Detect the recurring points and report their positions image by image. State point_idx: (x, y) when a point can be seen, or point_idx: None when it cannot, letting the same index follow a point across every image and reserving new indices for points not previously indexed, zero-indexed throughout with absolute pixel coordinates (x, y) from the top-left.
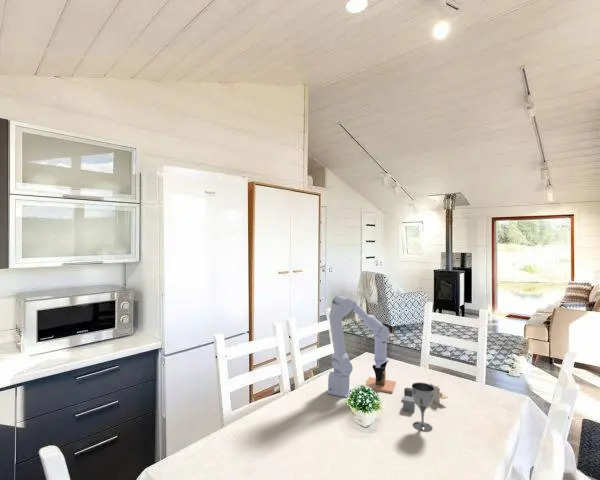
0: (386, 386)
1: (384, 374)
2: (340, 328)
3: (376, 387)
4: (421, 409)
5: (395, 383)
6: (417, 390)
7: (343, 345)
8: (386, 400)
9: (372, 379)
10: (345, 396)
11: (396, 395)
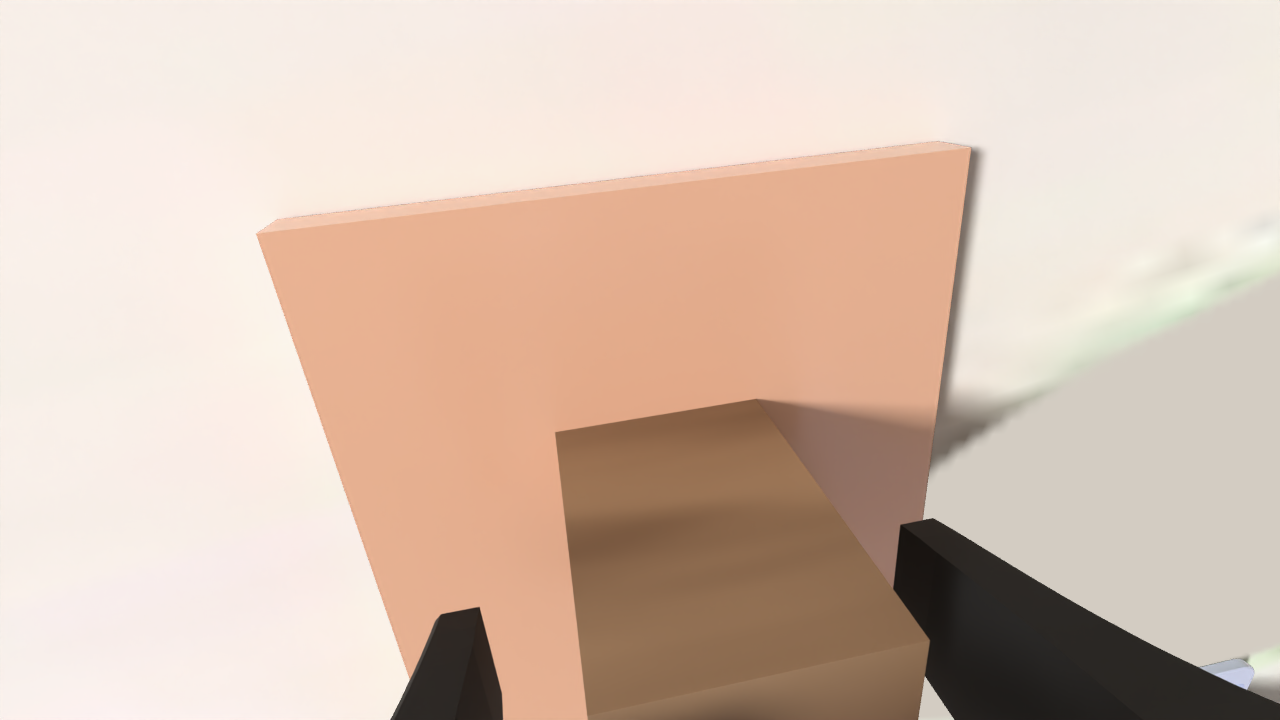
0: (748, 350)
1: (839, 607)
2: None
3: (882, 497)
4: None
5: (342, 216)
6: None
7: None
8: (1274, 166)
9: (522, 686)
10: (1247, 685)
11: (1011, 16)
